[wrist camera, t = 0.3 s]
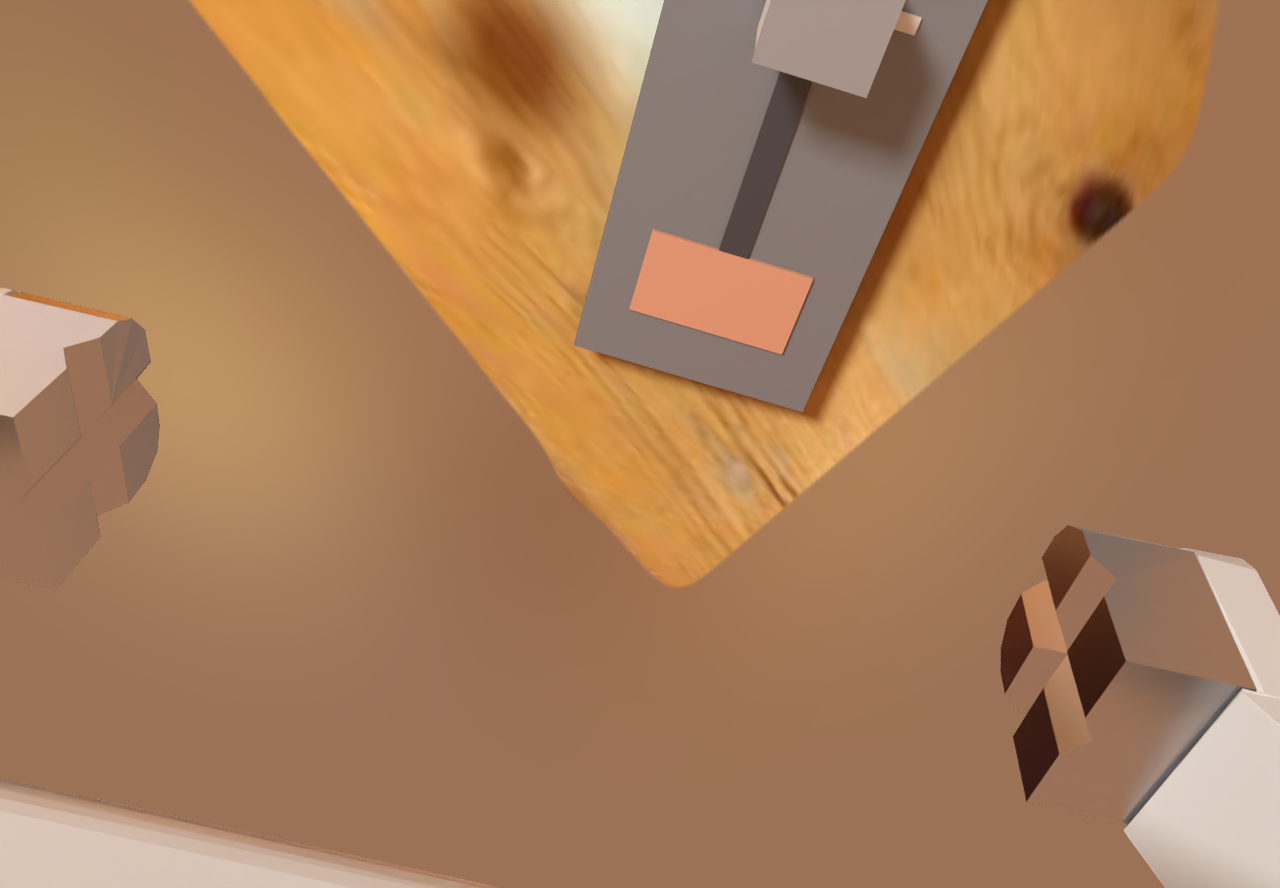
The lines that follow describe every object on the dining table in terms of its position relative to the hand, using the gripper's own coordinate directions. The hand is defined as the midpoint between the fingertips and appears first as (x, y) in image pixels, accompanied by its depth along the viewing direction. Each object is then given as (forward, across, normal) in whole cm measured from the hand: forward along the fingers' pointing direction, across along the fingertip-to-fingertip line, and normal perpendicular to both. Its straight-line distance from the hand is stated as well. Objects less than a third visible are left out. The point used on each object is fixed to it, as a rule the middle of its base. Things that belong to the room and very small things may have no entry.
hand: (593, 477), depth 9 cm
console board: (+46, -4, +13) cm, 48 cm away
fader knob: (+43, -4, +5) cm, 43 cm away
